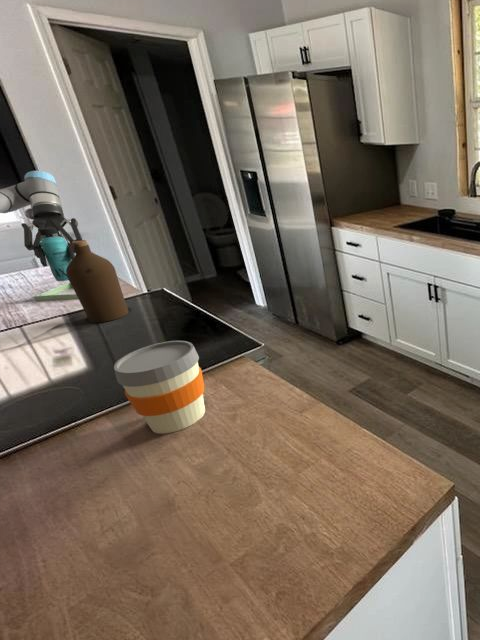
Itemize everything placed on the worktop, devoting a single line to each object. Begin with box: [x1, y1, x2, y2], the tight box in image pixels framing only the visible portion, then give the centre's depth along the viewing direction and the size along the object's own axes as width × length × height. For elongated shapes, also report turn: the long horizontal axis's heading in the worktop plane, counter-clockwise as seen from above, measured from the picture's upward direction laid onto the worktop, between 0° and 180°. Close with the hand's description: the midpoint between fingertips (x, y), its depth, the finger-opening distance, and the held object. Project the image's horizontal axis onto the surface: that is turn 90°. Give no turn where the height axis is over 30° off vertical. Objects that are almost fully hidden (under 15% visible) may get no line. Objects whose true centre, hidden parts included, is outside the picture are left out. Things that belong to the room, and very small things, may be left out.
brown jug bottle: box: [66, 239, 129, 324], centre depth 127 cm, size 11×11×25 cm
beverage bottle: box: [39, 227, 72, 282], centre depth 145 cm, size 6×7×20 cm
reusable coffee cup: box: [113, 340, 206, 435], centre depth 82 cm, size 13×13×15 cm
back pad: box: [33, 281, 79, 302], centre depth 150 cm, size 14×14×2 cm
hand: (59, 262), depth 143 cm, fingers closed on beverage bottle, 6 cm apart
